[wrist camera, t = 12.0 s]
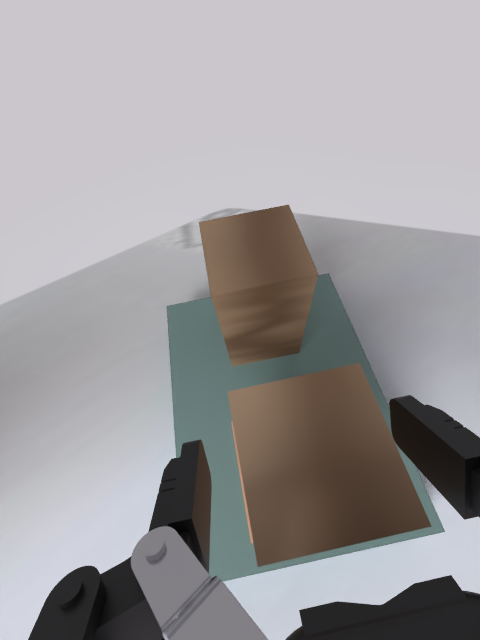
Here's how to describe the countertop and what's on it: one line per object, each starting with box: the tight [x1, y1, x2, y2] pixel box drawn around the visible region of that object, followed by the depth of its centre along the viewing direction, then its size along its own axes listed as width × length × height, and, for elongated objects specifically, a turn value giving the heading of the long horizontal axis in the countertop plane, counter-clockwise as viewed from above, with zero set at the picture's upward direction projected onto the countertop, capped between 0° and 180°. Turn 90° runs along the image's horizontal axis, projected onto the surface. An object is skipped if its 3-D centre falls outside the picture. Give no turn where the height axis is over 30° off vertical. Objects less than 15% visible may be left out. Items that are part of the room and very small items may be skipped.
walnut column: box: [199, 205, 318, 367], centre depth 18 cm, size 5×5×9 cm
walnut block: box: [228, 363, 432, 567], centre depth 13 cm, size 5×5×9 cm
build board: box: [167, 274, 445, 581], centre depth 21 cm, size 14×18×3 cm
